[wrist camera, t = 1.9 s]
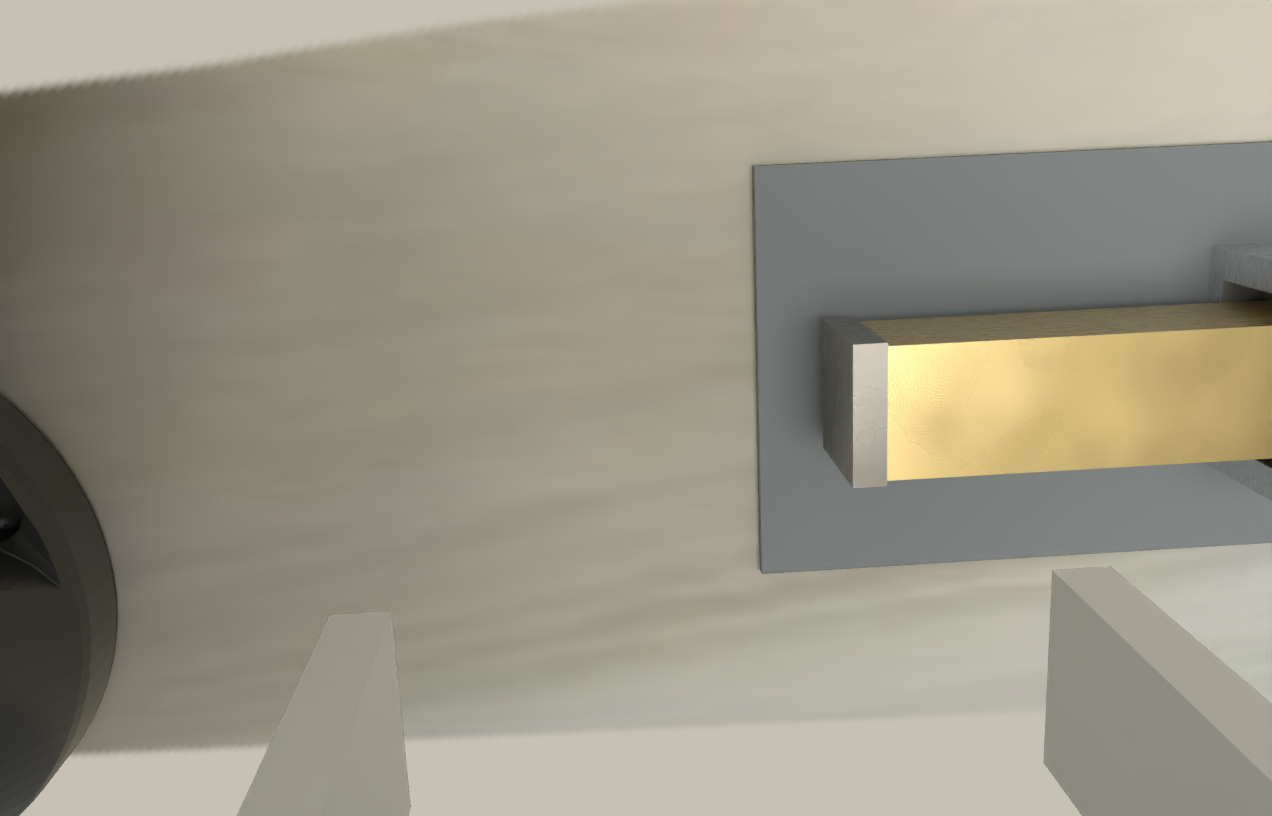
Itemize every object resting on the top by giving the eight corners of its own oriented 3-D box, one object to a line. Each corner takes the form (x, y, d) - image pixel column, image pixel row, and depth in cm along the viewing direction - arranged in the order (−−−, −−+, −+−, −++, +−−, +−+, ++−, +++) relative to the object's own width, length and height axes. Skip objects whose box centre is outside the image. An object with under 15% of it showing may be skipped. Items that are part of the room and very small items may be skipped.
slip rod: (822, 448, 31) (852, 488, 28) (822, 318, 31) (852, 344, 27) (1421, 414, 32) (1518, 449, 29) (1436, 286, 31) (1538, 308, 28)
